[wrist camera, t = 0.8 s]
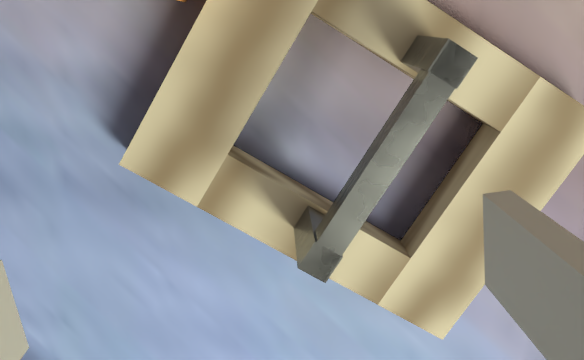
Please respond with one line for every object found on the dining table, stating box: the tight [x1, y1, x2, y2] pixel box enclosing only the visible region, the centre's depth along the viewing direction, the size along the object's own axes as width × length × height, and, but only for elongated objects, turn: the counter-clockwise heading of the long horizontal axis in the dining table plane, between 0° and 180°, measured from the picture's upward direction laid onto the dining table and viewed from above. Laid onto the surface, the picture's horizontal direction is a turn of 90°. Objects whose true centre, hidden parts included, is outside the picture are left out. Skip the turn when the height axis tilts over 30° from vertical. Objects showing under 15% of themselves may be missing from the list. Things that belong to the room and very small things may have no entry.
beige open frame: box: [119, 0, 584, 340], centre depth 35 cm, size 25×18×3 cm
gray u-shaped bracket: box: [294, 35, 478, 283], centre depth 33 cm, size 2×14×9 cm, turn 149°
